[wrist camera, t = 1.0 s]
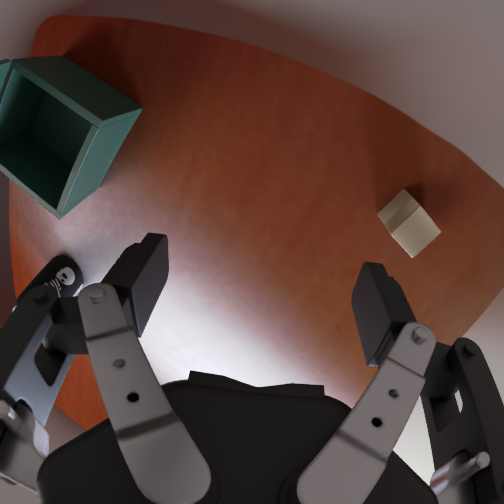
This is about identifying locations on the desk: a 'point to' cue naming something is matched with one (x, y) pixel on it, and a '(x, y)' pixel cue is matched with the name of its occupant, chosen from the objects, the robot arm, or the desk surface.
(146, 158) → the desk surface
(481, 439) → the robot arm
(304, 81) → the desk surface
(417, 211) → the block
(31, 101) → the chest
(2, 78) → the lid
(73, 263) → the beverage can
